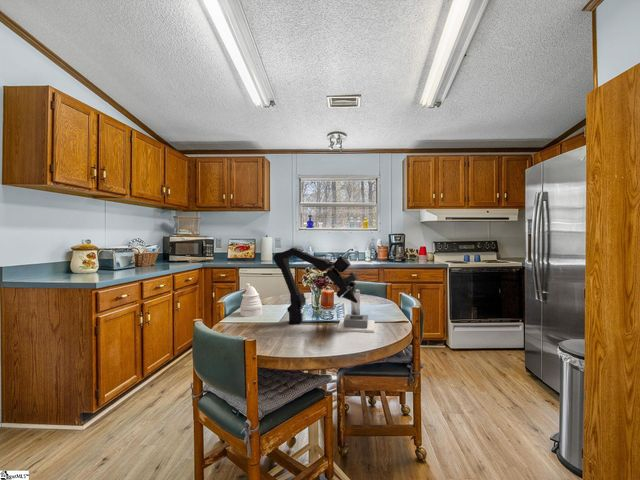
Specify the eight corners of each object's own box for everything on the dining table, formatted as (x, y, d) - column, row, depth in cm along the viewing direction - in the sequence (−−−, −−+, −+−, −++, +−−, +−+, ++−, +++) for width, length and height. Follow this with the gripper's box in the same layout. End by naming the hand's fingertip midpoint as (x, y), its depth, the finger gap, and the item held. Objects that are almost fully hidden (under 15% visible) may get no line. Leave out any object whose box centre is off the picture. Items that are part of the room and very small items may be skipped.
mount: (336, 330, 159) (336, 321, 159) (341, 320, 177) (340, 312, 177) (373, 332, 156) (373, 323, 156) (374, 322, 174) (374, 313, 173)
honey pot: (236, 315, 191) (235, 285, 190) (247, 310, 203) (246, 281, 202) (255, 317, 187) (255, 286, 186) (265, 311, 199) (265, 282, 199)
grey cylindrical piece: (352, 315, 161) (352, 290, 161) (349, 313, 166) (349, 289, 165) (361, 315, 162) (361, 290, 162) (358, 312, 167) (358, 288, 166)
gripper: (342, 270, 156) (365, 294, 152) (352, 265, 173) (372, 287, 170) (327, 285, 159) (349, 309, 155) (338, 279, 176) (358, 301, 173)
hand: (358, 301), depth 163 cm, fingers closed on grey cylindrical piece, 4 cm apart
